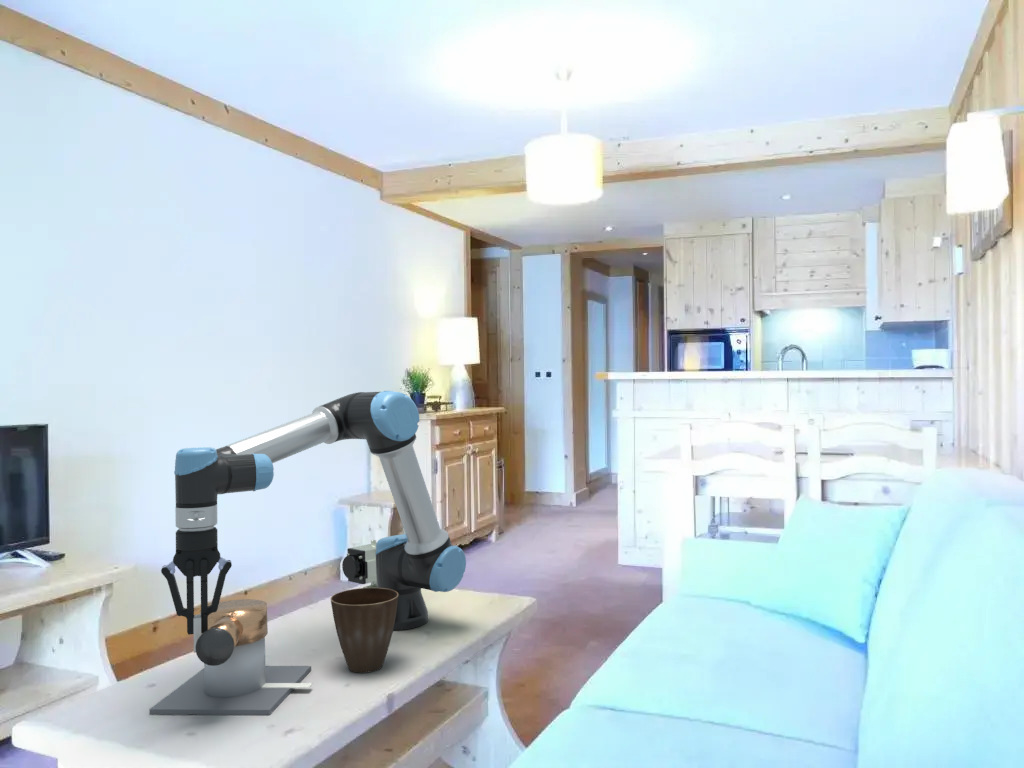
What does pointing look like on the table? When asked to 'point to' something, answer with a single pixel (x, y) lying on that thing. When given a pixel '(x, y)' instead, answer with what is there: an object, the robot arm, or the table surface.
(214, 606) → the robot arm
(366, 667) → the plant pot
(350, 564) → the ball valve
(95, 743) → the table surface
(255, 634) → the copper flat bottle shape
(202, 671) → the duct stub
